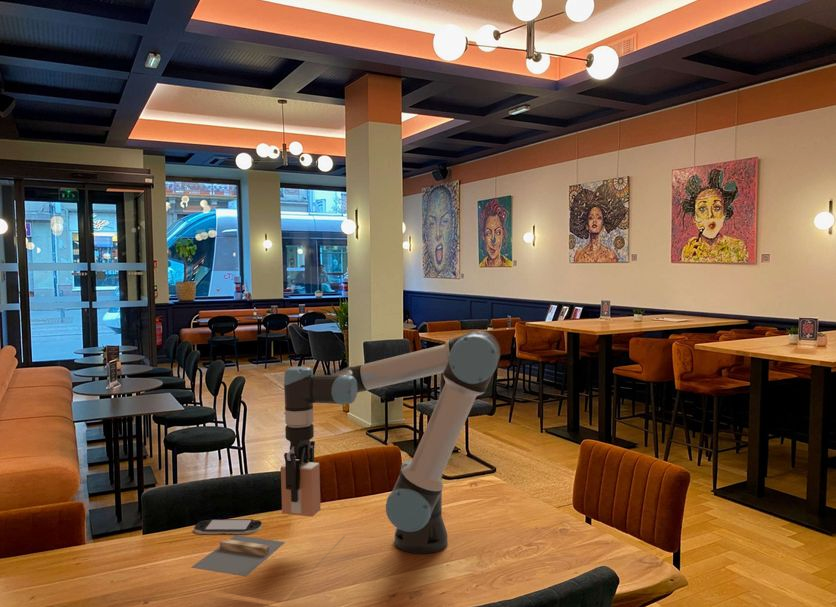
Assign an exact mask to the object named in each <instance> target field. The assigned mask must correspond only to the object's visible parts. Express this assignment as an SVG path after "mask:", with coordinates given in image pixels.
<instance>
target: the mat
mask: <svg viewBox="0 0 836 607" xmlns="http://www.w3.org/2000/svg"><path fill="white" fill-rule="evenodd" d="M228 539H229V540H236V541H243V542H249V543H256V544H263V545H269V553H268V554H267V555H266V556H262V555H256V554H249V553H243V552H236V551H230V550H223V549H220V546H218V547H217V548H215V549H214V550H213V551H212V552H210V553H209V554H208V555H206V556H204V557H203V558H201V559H200V560H199V561H198V562H196V563H195V564H194V565H192V566H191V568H193V569H199V570H205V571H212V572H217V573H223V574H224V573H225V574H230V575H237V576H242V577H247V576H249V574H251V573H252V572H253V571H255V569H257V567H259V566H260V565H261V564H262V563H263V562H264V561H266V560H267V559H268V558H269V557H270V556H272V555H273V554H274V553H275V552H276V551H278V550H279V548H280V547H283V545H284V544H285V543H286V541H279V540H272V539H266V538H260V537H259V538H258V537H251V536H246V535H245V536H244V535H240V534H234V536H232V537H231V538H228Z"/></svg>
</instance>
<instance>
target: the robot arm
mask: <svg viewBox="0 0 836 607" xmlns="http://www.w3.org/2000/svg"><path fill="white" fill-rule="evenodd" d="M501 352H502V351H501V346H500V343H499V341H498V340H497V338H496V337H495V336H494V335H493V334H491V333H490V332H488V331H485V330H480V329H477V330H471V331H469V332H467V333H465V334H462V335H460V336H456V337H454V338H451V339H450V338H449V339H447V340H446V342H445V344H440V345H436V346H432V347H429V348H424V349H420V350H417V351H413V352H412V351H411V352H408V353H402V354H399V355H396V356H392V357H387V358H383V359H379V360H376V361H375V360H374V361H371V362H367V363H362V364H360V365H356V366H354V365H353V366H347V367H344V368H342V369H341V370H339V371H336V372H335V373H332V374H325V375H324V374H321V375H320V374H314V373H313V369H312V367H310V366H302V365H301V366H292V367H288V368H287V369H286V370H284V377H283V378H284V382H283V383H284V384H283V390H284V391H283V392H284V413H283V414H284V417H285V418H284V419H285V420H284V421H285V424H286V426H284V429H285V430H284V431H285V434H284V435H285V439H286V440H287V441H288V442H290V443H289V451H288V452H284V454H283V456H284V458H283V459H284V461H285V463H284V464H285V471H286V489H288V490H291V513H298V514H301V513H302V503H301V489H299V486H300V467H301V464H302V463H308V462H313V463H315V444H316V442H315V441H314V440H312V439H313V438H314V437H315V435H314V434H315V433H314V431H315V430H314V429H315V428H314V424H313V423H314V404H334V405H335V404H337V405H344V404H345V405H347V404H349V405H350V404H353V403H354V402H355V400H356V398H357V395H358V393H362V392H366V391H369V390H374V389H378V388H383V387H387V386H391V385H395V384H396V385H397V384H400V383H405V382H408V381H413V380H418V379H421V378H426V377H430V376H434V375H438V374H442V376H443V379H444V381H445V382H444V385H443V388H442V390H441V392H440V394H439V397H438V399H437V401H436V403H435V406H434V409H433V411H432V414H431V415H430V418H429V420H428V423H427V425H426V428H425V430H424V432H423V434H422V437H421V439H420V441H419V444H418V446H417V448H416V451H415V452H414V456H412V457H413V458H412V459H411V460H405V461H404V462H403V463H402V464H401V466H400V471H399V475H398V478H397V479H396V482H395V484H394V486H393V488H392V491H391V492H390V493H389V495H388V496H387V498H386V503H385V512H386V514H385V515H386V516H387V519H388V521H390V523H391V525H393V526H394V527H395V528H396V529H395V531H394V545H395V546H396V547H397V548H398V549H399V550H402V551H403V552H407V553H412V554H422V555H423V554H430V553H431V554H432V553H436V552H439V551H442V550H443V549H444V548H446V547H447V545H448V532H447V529H446V525H445V522H444V518H443V515H442V514H443V512H442V511H443V510H442V507H443V506H442V503H443V497H442V496H443V488H444V484H443V474H444V471H445V469H446V467H447V465H448V462H449V460H450V458H451V455H452V453H453V450H454V448H455V446H456V444H457V441H458V439H459V437H460V435H461V432H462V431H463V428H464V426H465V423H466V421H467V419H468V416H469V414H470V412H471V410H472V407H473V406H474V405H473V404H474V403H475V400H476V398H477V397H478V396H481V395H483V394H485V392H486V391H487V388H488V387H489V386H488V385H489V383H490V382H491V379H492V377H493V374H494V373H495V371H496V369H497V367H498V365H499V361H500V359H501Z"/></svg>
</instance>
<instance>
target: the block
mask: <svg viewBox="0 0 836 607" xmlns="http://www.w3.org/2000/svg"><path fill="white" fill-rule="evenodd" d="M320 472H321V471H320V462H314V463H313V462H308V463H302V464H301V467H300V486H299V489H301V503H302V513H301V514H298V513H291V490H288V489H286V471H285V463H283V464H282V465H281V466H280V482H281V484H280V486H281V488H280V489H281V514H283V515H292V516H302V517H314V516H316V514H318V513H319V512H320V511H321V509H322V508H321V477H320V475H321V473H320Z"/></svg>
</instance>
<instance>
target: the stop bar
mask: <svg viewBox="0 0 836 607" xmlns="http://www.w3.org/2000/svg"><path fill="white" fill-rule="evenodd" d="M229 539H230V538H228V539H227V538H223V539H222V540H221V541H219V547H220V549H223V550H230V551H236V552H243V553H249V554H256V555H262V556H266V555H267V554H268V553H269V545H263V544H256V543H249V542H243V541H236V540H229Z"/></svg>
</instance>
